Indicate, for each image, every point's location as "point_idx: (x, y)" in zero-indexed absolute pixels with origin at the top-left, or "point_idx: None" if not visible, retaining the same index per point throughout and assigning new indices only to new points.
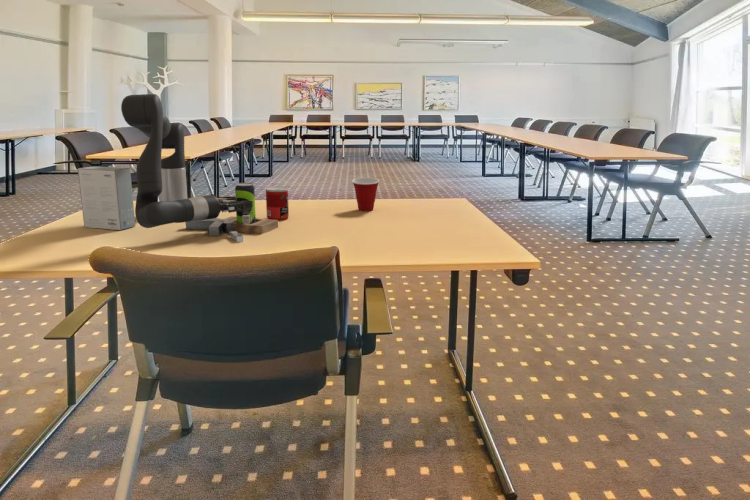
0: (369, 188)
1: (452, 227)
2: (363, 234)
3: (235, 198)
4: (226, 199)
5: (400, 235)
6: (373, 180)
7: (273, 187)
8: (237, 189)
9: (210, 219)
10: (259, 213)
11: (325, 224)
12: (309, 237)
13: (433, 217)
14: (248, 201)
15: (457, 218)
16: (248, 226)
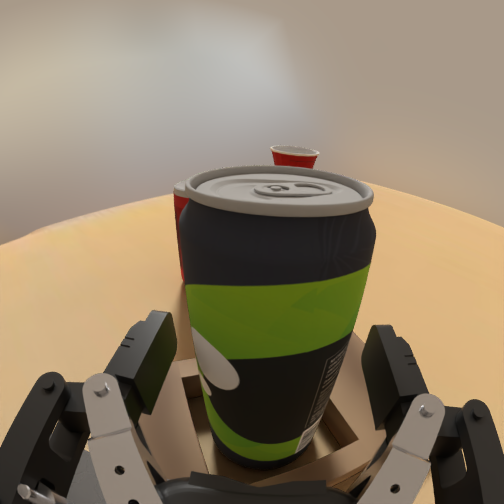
0: (312, 163)
1: (455, 219)
2: (484, 275)
3: (164, 325)
4: (121, 390)
5: (493, 256)
6: (291, 149)
7: (184, 181)
8: (291, 272)
9: (74, 497)
10: (124, 266)
11: (372, 265)
12: (500, 346)
13: (393, 201)
14: (399, 349)
15: (408, 199)
16: (369, 461)
